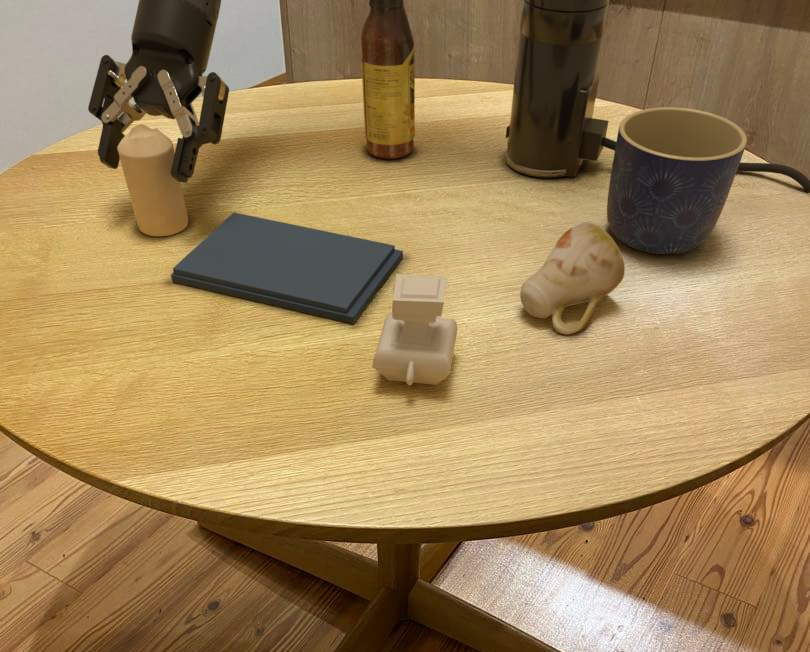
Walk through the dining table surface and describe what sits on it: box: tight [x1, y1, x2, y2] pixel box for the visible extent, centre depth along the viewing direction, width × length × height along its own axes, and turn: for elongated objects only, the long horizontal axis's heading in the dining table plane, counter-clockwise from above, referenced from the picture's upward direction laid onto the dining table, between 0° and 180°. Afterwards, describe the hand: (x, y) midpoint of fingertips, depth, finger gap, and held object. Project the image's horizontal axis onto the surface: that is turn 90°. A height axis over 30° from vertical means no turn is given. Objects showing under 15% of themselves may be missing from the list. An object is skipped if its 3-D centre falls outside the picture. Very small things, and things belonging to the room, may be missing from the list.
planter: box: [606, 106, 748, 255], centre depth 82 cm, size 12×12×11 cm
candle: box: [117, 123, 189, 237], centre depth 84 cm, size 6×6×10 cm
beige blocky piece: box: [372, 273, 458, 386], centre depth 68 cm, size 9×7×8 cm
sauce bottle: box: [360, 0, 416, 160], centre depth 93 cm, size 6×6×20 cm
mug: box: [519, 221, 626, 335], centre depth 76 cm, size 8×10×10 cm
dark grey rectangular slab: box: [170, 212, 404, 325], centre depth 81 cm, size 20×13×1 cm, turn 69°
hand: (143, 172), depth 82 cm, fingers open, 8 cm apart
